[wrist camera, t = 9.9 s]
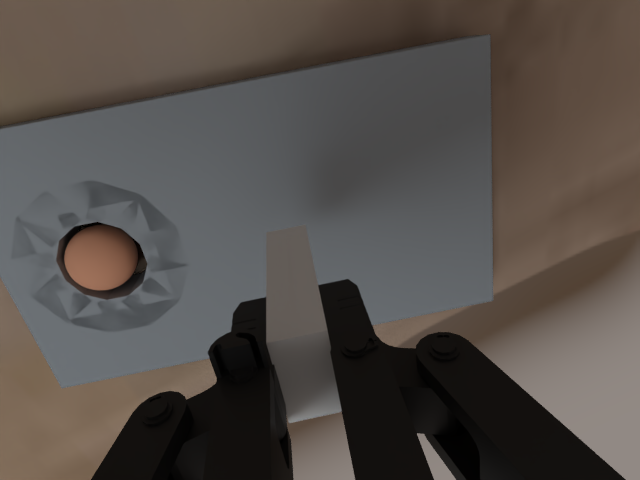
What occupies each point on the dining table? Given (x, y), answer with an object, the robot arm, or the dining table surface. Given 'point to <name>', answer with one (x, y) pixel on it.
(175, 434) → the robot arm
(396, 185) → the plate
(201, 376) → the dining table surface
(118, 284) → the ball
